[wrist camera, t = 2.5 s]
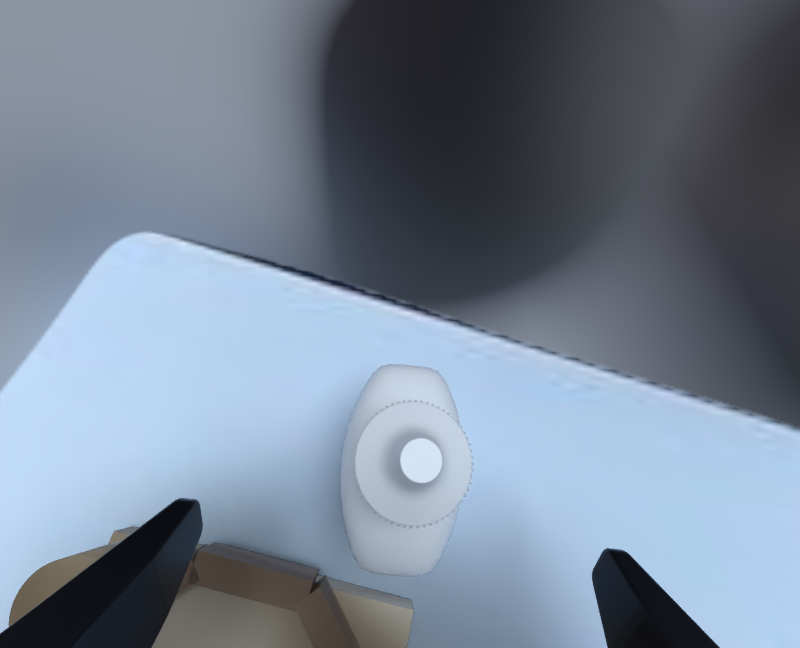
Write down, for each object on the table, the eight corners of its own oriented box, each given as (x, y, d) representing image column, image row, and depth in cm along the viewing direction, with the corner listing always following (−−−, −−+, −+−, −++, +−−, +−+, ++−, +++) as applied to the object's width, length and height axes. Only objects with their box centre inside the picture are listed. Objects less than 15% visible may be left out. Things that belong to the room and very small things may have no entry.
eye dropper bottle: (316, 489, 17) (197, 541, 6) (387, 384, 19) (403, 266, 7) (398, 550, 16) (446, 744, 5) (464, 436, 18) (609, 392, 7)
